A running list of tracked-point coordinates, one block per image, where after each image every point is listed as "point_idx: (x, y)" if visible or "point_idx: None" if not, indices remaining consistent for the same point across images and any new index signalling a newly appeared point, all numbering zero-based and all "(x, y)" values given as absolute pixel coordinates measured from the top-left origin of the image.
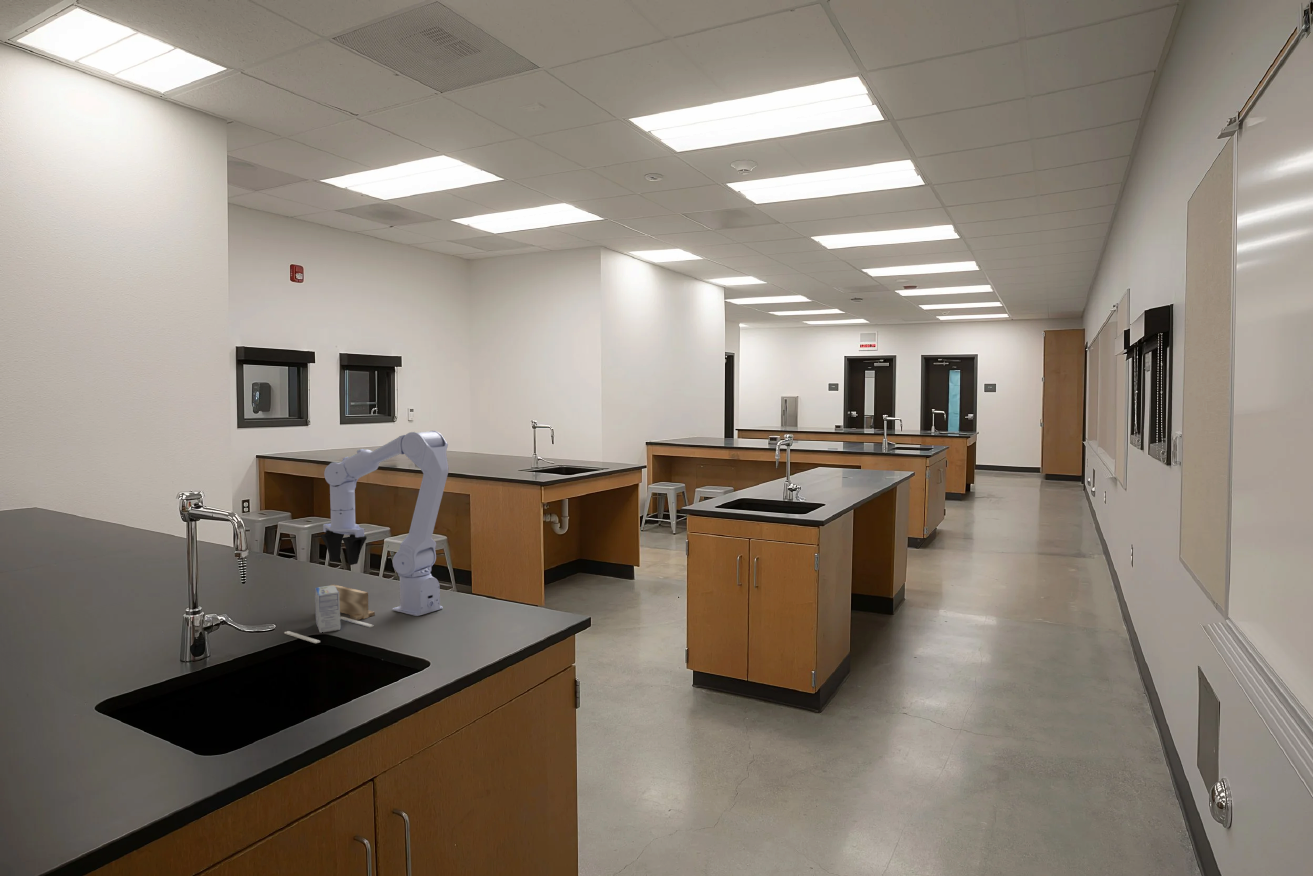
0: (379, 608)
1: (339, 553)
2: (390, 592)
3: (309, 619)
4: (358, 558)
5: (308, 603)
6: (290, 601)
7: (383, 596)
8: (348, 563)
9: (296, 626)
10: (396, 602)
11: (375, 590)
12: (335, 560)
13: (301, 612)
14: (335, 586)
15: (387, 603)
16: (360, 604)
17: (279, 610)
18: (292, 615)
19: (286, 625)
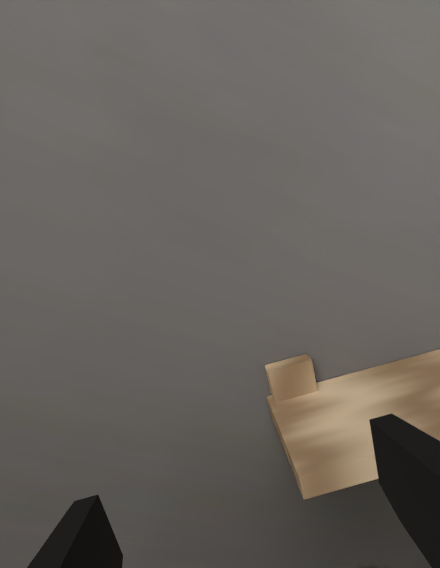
0: (417, 246)
1: (78, 559)
2: (162, 64)
3: (349, 497)
4: (434, 439)
5: (106, 454)
6: (16, 502)
7: (223, 138)
8: (388, 496)
9: (397, 543)
10: (386, 137)
11: (53, 115)
12: (111, 532)
13: (232, 501)
14: (359, 479)
15: (368, 182)
16: None
17: (142, 554)
18: (251, 531)
19: (360, 563)
